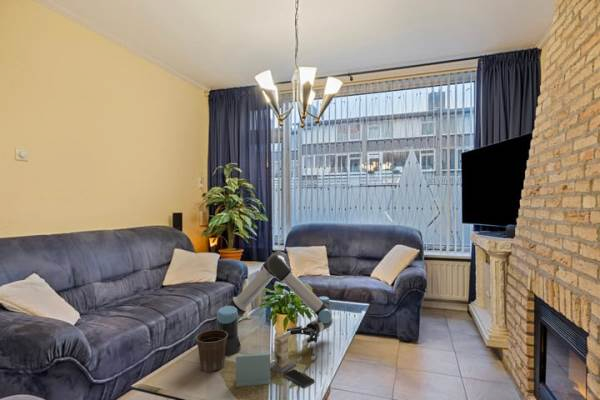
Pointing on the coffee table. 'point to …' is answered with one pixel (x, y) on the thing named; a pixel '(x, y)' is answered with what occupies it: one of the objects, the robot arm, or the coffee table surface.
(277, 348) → the tall tan block
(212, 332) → the plant pot
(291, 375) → the phone
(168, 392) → the coffee table surface
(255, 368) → the standing board
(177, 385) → the coffee table surface
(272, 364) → the charcoal mat
